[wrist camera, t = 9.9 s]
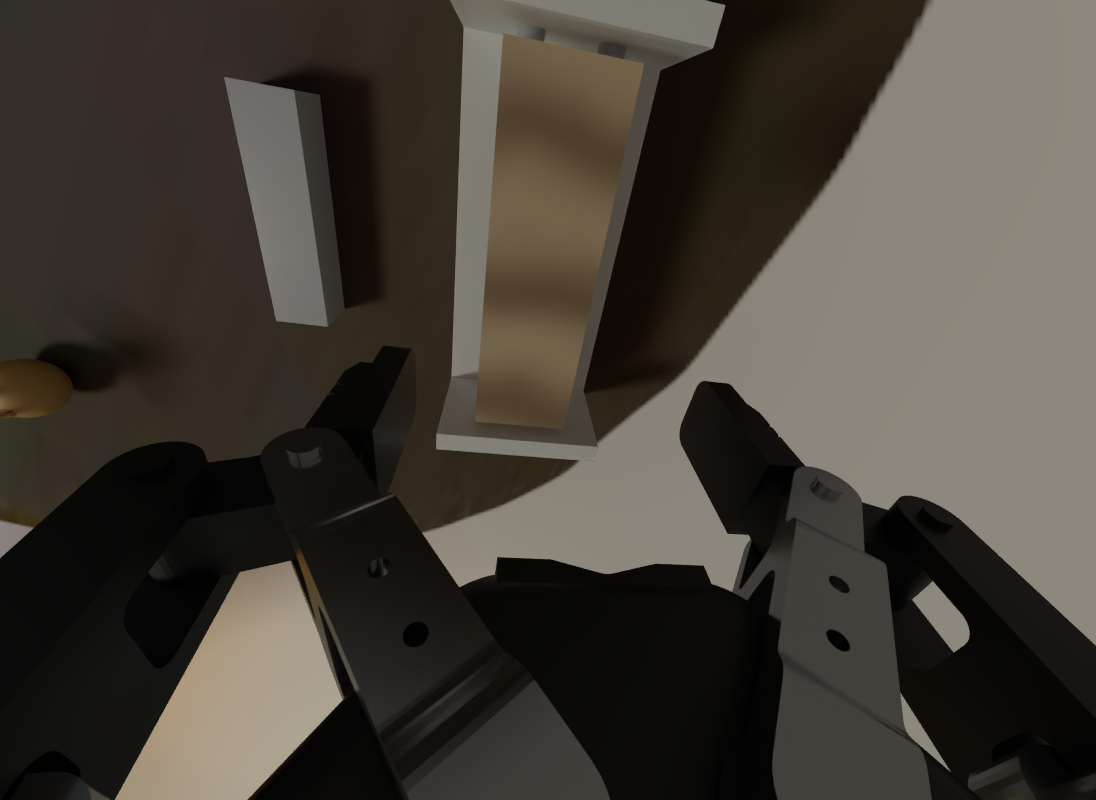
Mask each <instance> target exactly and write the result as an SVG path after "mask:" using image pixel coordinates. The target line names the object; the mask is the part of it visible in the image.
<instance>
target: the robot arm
mask: <svg viewBox="0 0 1096 800" xmlns="http://www.w3.org/2000/svg"><path fill="white" fill-rule="evenodd" d="M415 408H416V373H415V352H414V349H411V348H401V347H392V346H383V347H382V348H381V350H380V351H379V353H378V355H377V356H376V358H375V360H374V361H373V363H366V362H359V363H358V364H356V365H354V366H353V367H351V368H349V369H347V370H346V371H344V373H343V374H342V375H341V377H340V378H339V380H338V381H337V383H336V385H334V387H333V388H332V390H331V391H330V392H329V395H327V397H326V398H325V399H324V401H323V402H322V404H321V405H320V407H319V408H318V409H317V411H316V412H315V414H314V415H313V416H312V418H311V419H310V421H309V422H308V423H307V425H306V426H305V428H300V429H296V430H292V431H289V432H286V433H284V434H282V435H280V436H278V437H276V438H274V439H273V440H272V441H270V442H269V443H268V444H267V445H266V446H265V447H264V449H263V450H262V452H261V455H258V456H253V457H247V458H239V459H232V460H224V461H216V462H209V463H208V461H207V458H206V456H205V453H204V451H203V450H202V449H201V448H200V447H198V446H196V445H194V444H191V443H186V442H161V443H156V444H150V445H147V446H143V447H139V448H136V449H133V450H131V451H129V452H126V453H124V454H122V455H120V456H118V457H116V458H114V459H113V460H111V461H109V462H108V463H107V464H105V465H104V466H103V467H102V468H100V469H99V470H98V471H97V472H96V473H95V474H94V475H93V476H92V477H90V478H89V479H88V480H87V481H86V482H85V483H84V484H83V485H82V486H80V487H79V488H78V489H77V490H76V491H75V492H74V493H73V494H71V495H70V496H69V497H68V498H67V499H66V500H65V501H64V502H63V503H61V504H60V505H59V506H58V507H57V508H56V509H55V510H54V511H52V512H51V513H50V514H49V515H48V516H47V517H46V518H45V519H44V520H42V521H41V522H40V523H39V524H38V525H37V526H36V527H35V528H34V529H32V530H31V531H30V532H29V533H28V534H27V535H26V536H25V537H24V538H22V540H20V541H19V542H18V543H17V544H16V545H15V546H13V547H12V548H11V549H10V550H9V551H8V552H7V553H6V554H5V555H4V556H2V557H1V558H0V800H115V798H116V796H117V795H118V793H119V791H120V789H121V787H122V785H123V784H124V782H125V780H126V778H127V776H128V775H129V773H130V771H131V769H132V767H133V765H134V763H135V762H136V760H137V758H138V756H139V755H140V753H141V751H142V749H143V747H144V745H145V744H146V742H147V740H148V738H149V736H150V734H151V733H152V731H153V729H154V727H155V725H156V724H157V722H158V720H159V718H160V716H161V714H162V713H163V711H164V709H165V707H166V705H167V704H168V702H169V700H170V698H171V696H172V694H173V693H174V691H175V689H176V687H177V685H178V683H179V682H180V680H181V678H182V676H183V674H184V673H185V671H186V669H187V667H188V665H189V663H190V662H191V660H192V658H193V656H194V654H195V653H196V651H197V649H198V647H199V645H200V643H201V641H202V640H203V638H204V636H205V634H206V632H207V631H208V629H209V627H210V625H211V623H212V622H213V620H214V618H215V616H216V614H217V612H218V610H219V609H220V607H221V605H222V603H223V601H224V600H225V598H226V596H227V594H228V592H229V591H230V589H231V587H232V585H233V583H234V581H235V580H236V578H237V576H238V574H239V572H242V571H246V570H251V569H255V568H260V567H264V566H269V565H273V564H278V563H282V562H286V561H291V564H292V567H293V569H294V572H295V574H296V577H297V579H298V582H299V584H300V587H301V589H302V592H303V595H304V597H305V600H306V602H307V605H308V607H309V610H310V613H311V615H312V617H313V620H314V623H315V625H316V628H317V631H318V633H319V636H320V639H321V642H322V645H323V648H324V651H325V653H326V656H327V659H328V662H329V665H330V668H331V670H332V673H333V675H334V678H335V681H336V684H337V686H338V689H339V691H340V694H341V697H342V699H343V700H342V702H341V703H340V704H339V705H338V706H337V707H336V708H335V709H334V710H333V711H332V712H331V713H330V714H329V715H328V716H327V717H326V718H325V719H324V720H323V721H322V722H321V723H320V725H319V726H318V727H317V728H316V729H315V730H314V731H313V732H312V733H311V734H310V735H309V736H308V737H307V738H306V739H305V740H304V741H303V742H302V743H301V744H300V745H299V746H298V748H297V749H296V750H295V751H294V752H293V753H292V754H291V755H290V756H289V757H288V758H287V759H286V760H285V761H284V762H283V763H282V765H280V766H279V767H278V768H277V769H276V771H275V772H274V773H273V774H272V775H271V776H270V777H269V778H268V779H267V780H266V781H265V782H264V783H263V784H262V785H261V786H260V787H259V788H258V789H257V790H256V791H255V792H254V794H253V795H252V796H251V797H250V798H249V799H248V800H1096V646H1095V645H1094V644H1093V643H1092V642H1091V641H1090V640H1089V639H1088V638H1087V637H1086V636H1085V635H1084V634H1083V633H1082V632H1080V631H1079V630H1078V629H1077V628H1076V627H1075V626H1074V625H1073V624H1072V623H1071V622H1070V621H1069V620H1068V619H1066V618H1065V617H1064V616H1063V615H1062V614H1061V613H1060V612H1059V611H1058V610H1057V609H1056V608H1055V607H1054V606H1052V605H1051V604H1050V603H1049V602H1048V601H1047V600H1046V599H1045V598H1044V597H1043V596H1042V595H1041V594H1040V593H1039V592H1037V591H1036V590H1035V589H1034V588H1033V587H1032V586H1031V585H1030V584H1029V583H1028V582H1026V580H1025V579H1023V578H1022V577H1021V576H1020V575H1019V574H1018V573H1017V572H1016V571H1015V570H1014V569H1013V568H1012V567H1011V566H1009V565H1008V564H1007V563H1006V562H1005V561H1004V560H1003V559H1002V558H1001V557H1000V556H999V555H997V553H996V552H994V551H993V550H992V549H991V548H990V547H989V546H988V545H987V544H986V543H985V542H984V541H983V540H982V539H980V538H979V537H978V536H977V535H976V534H975V533H974V532H973V531H972V530H971V529H970V528H969V527H968V526H966V525H965V524H964V523H963V522H962V521H961V520H960V519H959V518H957V517H956V516H955V515H953V514H952V513H950V512H949V511H947V510H946V509H944V508H942V507H940V506H938V505H936V504H934V503H932V502H930V501H927V500H925V499H922V498H918V497H914V496H902V497H900V498H899V499H898V500H897V501H896V502H895V503H894V504H893V506H892V507H891V508H890V509H889V510H886V509H882V508H879V507H876V506H872V505H869V504H866V503H863V502H862V501H861V498H860V496H859V495H858V493H857V492H856V491H855V490H854V489H853V488H852V487H851V486H850V485H849V484H847V483H846V482H845V481H843V480H842V479H840V478H839V477H837V476H835V475H833V474H831V473H829V472H827V471H824V470H822V469H818V468H814V467H806V466H805V465H804V464H803V463H802V462H801V461H800V459H799V458H798V457H797V456H796V455H795V454H794V452H793V451H792V450H791V449H790V448H789V447H788V445H787V444H786V443H785V442H784V441H783V440H782V438H781V437H778V434H777V433H776V431H775V430H774V429H773V428H772V427H770V424H768V422H767V421H766V420H765V419H764V417H763V416H762V415H761V414H760V413H759V412H758V411H756V410H755V409H753V408H752V407H750V406H749V405H748V404H746V403H745V401H744V400H743V399H742V398H741V397H740V395H739V394H738V393H737V392H736V391H735V389H734V388H733V387H732V386H731V385H729V384H727V383H716V382H708V381H702V382H701V383H700V384H699V385H698V386H697V388H696V390H695V392H694V395H693V397H692V400H691V402H690V404H689V407H688V409H687V411H686V414H685V416H684V419H683V421H682V424H681V427H680V442H681V445H682V447H683V449H684V451H685V453H686V455H687V457H688V458H689V460H690V462H691V464H692V466H693V468H694V470H695V472H696V474H697V476H698V478H699V480H700V482H701V483H702V485H703V487H704V489H705V491H706V493H707V495H708V497H709V498H710V500H711V502H712V504H713V506H714V508H715V510H716V512H717V514H718V516H719V518H720V520H721V522H722V524H723V526H724V527H725V529H726V531H727V533H728V534H743V535H749V536H750V538H751V539H750V541H749V542H748V544H747V545H746V547H745V549H744V552H743V556H742V559H741V563H740V567H739V570H738V574H737V577H736V581H735V584H734V588H733V591H732V592H731V591H729V590H726V589H724V588H721V587H719V586H716V585H713V584H711V582H710V579H709V577H708V575H707V572H706V570H705V568H704V566H697V565H672V564H653V565H648V566H644V567H640V568H635V569H631V570H626V571H622V572H618V573H613V574H602V573H598V572H594V571H591V570H587V569H583V568H580V567H576V566H573V565H569V564H565V563H562V562H558V561H554V560H551V559H525V558H502V557H498V558H497V564H496V571H495V575H491V576H487V577H483V578H480V579H478V580H475V581H472V582H470V583H468V584H466V585H463V586H461V587H459V586H458V585H457V584H456V582H455V581H454V579H453V578H452V576H451V575H450V573H449V572H448V570H447V569H446V567H445V566H444V565H443V563H442V562H441V560H440V559H439V557H438V556H437V554H436V553H435V551H434V550H433V549H432V547H431V546H430V544H429V543H428V541H427V540H426V538H425V537H424V535H423V534H422V532H421V531H420V530H419V528H418V527H417V525H416V524H415V522H414V521H413V519H412V518H411V516H410V515H409V513H408V512H407V511H406V509H405V508H404V506H403V505H402V503H401V502H400V500H399V499H398V498H397V497H396V496H395V495H394V494H392V493H389V494H388V491H389V488H390V485H391V482H392V479H393V477H394V474H395V471H396V468H397V465H398V462H399V460H400V457H401V454H402V451H403V448H404V446H405V443H406V440H407V437H408V434H409V431H410V429H411V426H412V423H413V420H414V415H415ZM932 581H934V583H935V584H936V585H937V586H938V587H939V589H941V591H942V592H943V593H944V594H945V595H946V597H947V598H948V599H949V600H950V601H951V602H952V603H953V605H954V606H955V607H956V608H957V609H958V610H959V611H960V613H961V614H962V615H963V616H964V618H965V620H966V621H967V624H968V626H969V630H970V637H969V640H968V642H967V643H966V644H965V645H964V646H963V647H961V648H960V649H958V650H957V651H956V652H954V653H953V651H952V650H951V649H950V648H949V646H948V645H947V644H946V643H945V641H944V640H943V639H942V638H941V636H940V635H939V634H938V632H937V631H936V630H935V629H934V627H933V626H932V625H931V623H930V622H929V621H928V620H927V618H926V617H925V616H924V615H923V613H922V612H921V611H920V609H919V608H918V607H917V606H916V604H915V603H914V602H913V601H912V599H913V598H914V597H915V596H916V595H918V594H919V593H920V592H921V591H922V590H923V589H924V588H926V587H927V586H928V585H929V584H930V583H931V582H932ZM900 692H901V694H902V696H903V697H904V699H905V700H906V702H907V703H908V705H909V707H910V708H911V710H912V711H913V713H914V715H915V716H916V717H917V719H918V721H919V722H920V724H921V726H922V727H923V729H924V730H925V732H926V733H927V735H928V736H929V738H930V740H931V741H932V743H933V744H934V746H935V747H936V749H937V751H938V752H939V754H940V755H941V757H942V759H943V760H944V762H945V763H946V765H947V766H948V768H949V769H950V771H951V772H950V771H949V770H947V769H946V768H945V767H944V766H943V765H942V764H940V763H939V762H938V761H937V760H936V759H935V758H934V757H932V756H931V755H930V754H929V753H928V752H927V751H925V750H924V749H923V748H922V747H921V746H920V745H918V744H917V743H916V742H915V741H914V740H913V739H912V738H911V737H910V736H909V735H908V733H907V732H906V729H905V727H904V722H903V715H902V706H901V696H900Z"/></svg>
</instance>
